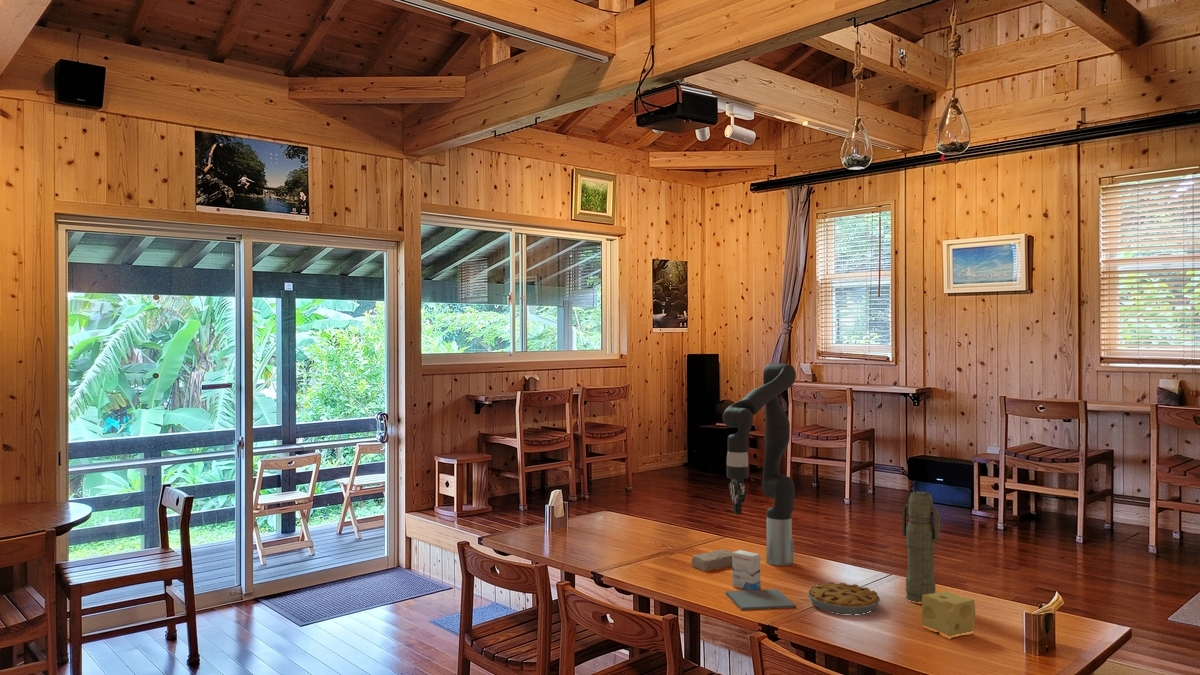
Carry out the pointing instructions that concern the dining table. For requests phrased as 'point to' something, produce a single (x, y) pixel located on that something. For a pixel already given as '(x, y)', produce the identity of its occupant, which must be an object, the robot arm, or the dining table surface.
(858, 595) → the pie
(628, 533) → the dining table surface
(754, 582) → the ink box
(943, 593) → the cheese
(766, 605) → the mat
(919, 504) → the dark olive tall piece
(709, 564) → the brick
